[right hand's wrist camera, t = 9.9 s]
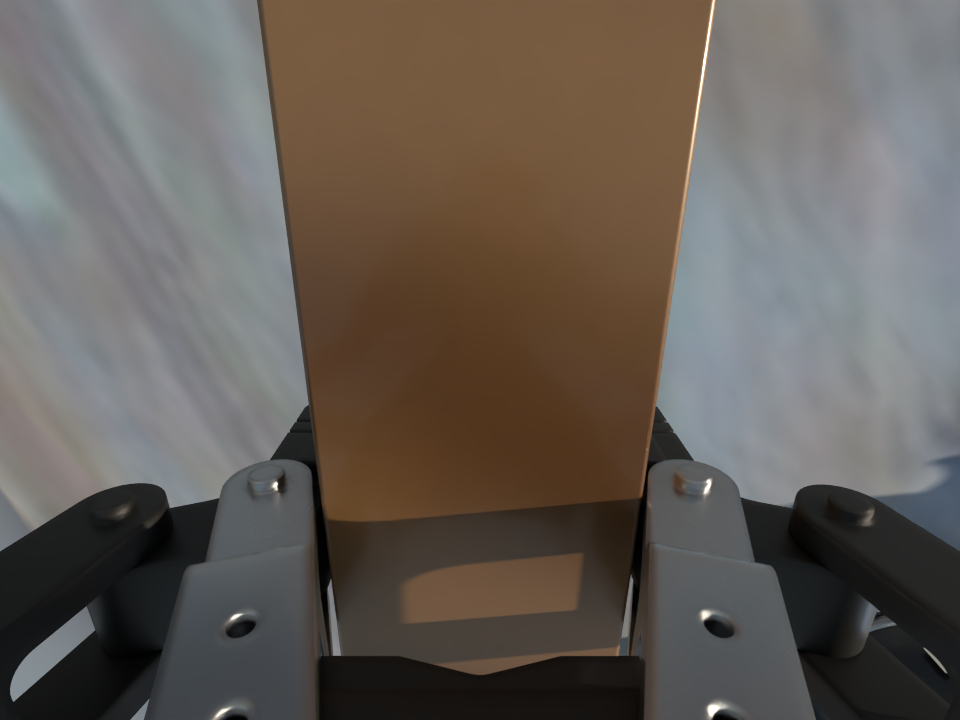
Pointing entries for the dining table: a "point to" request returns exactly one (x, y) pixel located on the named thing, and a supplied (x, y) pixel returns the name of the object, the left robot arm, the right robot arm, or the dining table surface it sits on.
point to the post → (483, 303)
